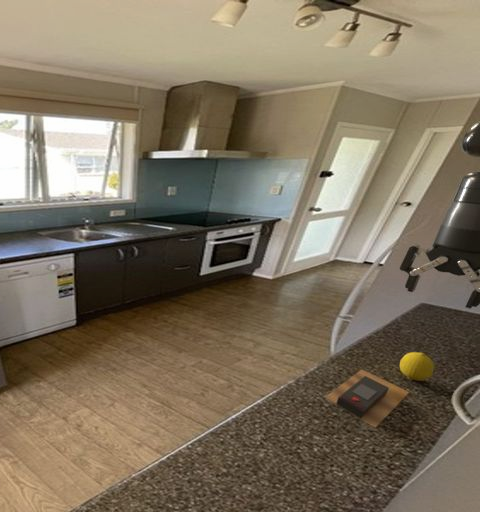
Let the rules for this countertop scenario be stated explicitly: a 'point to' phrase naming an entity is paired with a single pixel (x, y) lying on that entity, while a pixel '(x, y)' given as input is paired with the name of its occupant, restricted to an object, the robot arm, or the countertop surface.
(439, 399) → the countertop surface
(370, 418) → the placemat
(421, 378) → the lemon
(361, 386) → the remote
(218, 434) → the countertop surface
